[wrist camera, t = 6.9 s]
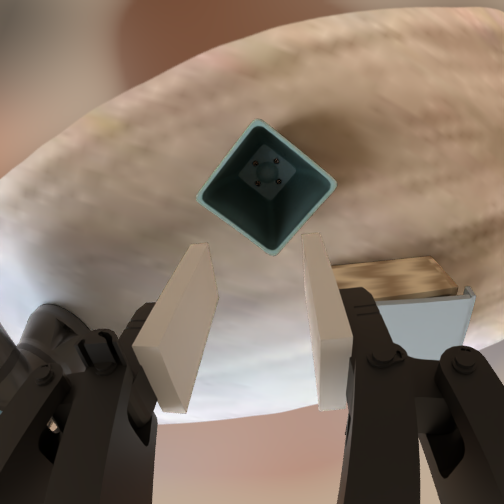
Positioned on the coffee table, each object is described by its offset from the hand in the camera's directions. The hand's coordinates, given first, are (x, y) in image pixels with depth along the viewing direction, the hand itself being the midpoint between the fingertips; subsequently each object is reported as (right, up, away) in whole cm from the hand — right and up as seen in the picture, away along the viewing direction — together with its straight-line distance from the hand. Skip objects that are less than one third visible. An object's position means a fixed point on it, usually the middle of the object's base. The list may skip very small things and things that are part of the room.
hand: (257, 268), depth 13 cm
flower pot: (+2, +9, +21) cm, 23 cm away
